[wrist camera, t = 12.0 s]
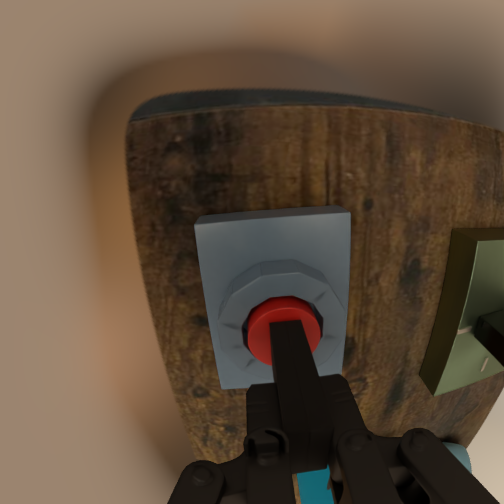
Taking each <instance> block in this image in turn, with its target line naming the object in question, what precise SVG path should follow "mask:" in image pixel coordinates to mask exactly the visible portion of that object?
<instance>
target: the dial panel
mask: <svg viewBox="0 0 504 504" xmlns="http://www.w3.org/2000/svg"><path fill="white" fill-rule="evenodd" d="M502 310H504V228H473V229H452V235H451V243H450V250H449V257H448V263H447V269H446V274H445V280H444V285H443V290H442V294H441V299H440V304H439V308H438V312H437V316H436V320H435V324H434V328H433V331H432V335H431V339H430V342H429V346H428V349H427V352H426V355H425V359H424V362H423V365H422V368H421V371H420V374H419V376H420V377H421V379H422V380H423V382H424V383H425V385H426V386H427V388H428V389H429V391H430V392H431V394H432V395H433V397H434V396H437V395H440V394H443V393H447V392H449V391H452V390H455V389H458V388H461V387H464V386H466V385H469V384H472V383H474V382H477V381H479V380H482V379H484V378H487V377H489V376H492V375H494V374H496V373H499V372H501V371H503V370H504V367H503V366H502V365H501V364H500V363H499V362H498V361H497V360H496V359H495V358H494V357H493V356H492V355H491V353H490V352H489V351H488V350H487V349H486V348H485V347H484V346H483V345H482V344H481V343H480V342H479V341H478V340H477V339H476V338H475V337H474V335H475V332H476V328H477V325H478V322H479V319H480V316H483V315H487V314H491V313H495V312H499V311H502Z"/></svg>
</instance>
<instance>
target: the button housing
mask: <svg viewBox="0 0 504 504" xmlns="http://www.w3.org/2000/svg"><path fill="white" fill-rule="evenodd" d="M194 229H195V237H196V244H197V251H198V258H199V265H200V272H201V278H202V285H203V291H204V297H205V303H206V309H207V315H208V321H209V327H210V333H211V338H212V344H213V349H214V354H215V360H216V365H217V370H218V375H219V380H220V385H221V389H238V388H250V386H251V384H262V383H273V382H274V379H273V371H272V366H270V365H267V364H265V363H263V362H261V361H259V360H258V359H257V358H256V357H255V356H254V355H253V354H252V352H251V351H250V348H249V345H248V328H247V320H248V315H249V312H250V311H251V309H252V308H253V307H255V306H257V305H258V304H260V303H262V302H263V301H265V300H266V299H268V298H270V297H280V296H291V295H293V296H296V297H298V298H301V299H303V300H306V301H307V302H308V303H309V304H310V306H311V308H312V310H313V312H314V315H315V317H316V320H317V322H318V325H319V327H320V340H319V344H318V346H317V348H316V349H315V351H314V352H313V353H312V355H313V358H314V362H315V365H316V368H317V371H318V374H319V376H325V375H331V374H338V373H339V374H340V375H341V373H342V365H343V356H344V346H345V335H346V324H347V311H348V296H349V276H350V245H351V212H349V211H347V210H346V209H344V208H342V207H341V206H339V205H329V206H313V207H298V208H284V209H270V210H258V211H246V212H234V213H223V214H213V215H203V216H200V217H199V218H198V220H197V221H196V223H195V224H194Z"/></svg>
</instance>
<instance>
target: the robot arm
mask: <svg viewBox="0 0 504 504" xmlns="http://www.w3.org/2000/svg"><path fill="white" fill-rule="evenodd" d="M269 328H270V344H271V360H272V371H273V379H274V382H273V383H262V384H251V386H250V388H249V389H248V391H247V393H246V405H247V406H246V410H247V436H246V437H245V439H244V443H243V445H244V452H243V453H242V454H241V455H240V456H239V457H237V458H236V459H233V460H231V461H228V462H224V463H221V464H216V463H214V462H211V461H206V460H200V461H196V462H192V463H191V464H189V465H188V466H186V468H185V469H184V470H183V472H182V473H181V475H180V478H179V480H178V482H177V484H176V486H175V488H174V490H173V493H172V494H171V497H170V499H169V501H168V503H167V504H296V501H295V494H294V487H293V480H292V474H297V473H304V472H311V471H317V470H323V469H327V465H328V466H329V470H330V476H329V480H328V483H327V490H329V489H330V488H331V492H332V497H333V501H334V504H500V503H499V502H498V501H497V500H496V499H495V498H494V497H493V496H492V495H491V494H490V493H489V492H488V490H487V489H486V488H484V486H483V485H482V484H481V483H480V482H479V481H478V480H477V479H476V478H475V477H474V476H473V475H472V474H471V473H470V471H469V470H468V469H467V468H466V467H465V466H464V465H463V464H462V463H461V462H460V461H459V460H458V459H457V458H456V457H455V456H454V455H453V454H452V453H451V452H450V450H449V449H448V448H447V447H446V446H445V445H444V444H443V443H442V442H441V441H440V440H439V439H438V438H437V437H436V436H435V435H434V434H433V433H432V432H430V431H429V430H427V429H423V428H414V429H411V430H408V431H407V432H406V433H405V434H404V435H403V436H402V437H380V436H377V435H374V434H373V433H372V432H370V431H369V430H368V429H367V428H366V426H365V424H364V421H363V419H362V416H361V414H360V411H359V409H358V406H357V404H356V401H355V399H354V396H353V394H352V392H351V389H350V387H349V384H348V382H347V380H346V379H345V378H343V377H342V376H341V375H340V374H339V373H338V374H331V375H325V376H319V374H318V371H317V368H316V365H315V362H314V358H313V355H312V352H311V349H310V346H309V343H308V340H307V336H306V333H305V330H304V327H303V324H302V321H301V320H292V321H282V322H271V323H269Z"/></svg>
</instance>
